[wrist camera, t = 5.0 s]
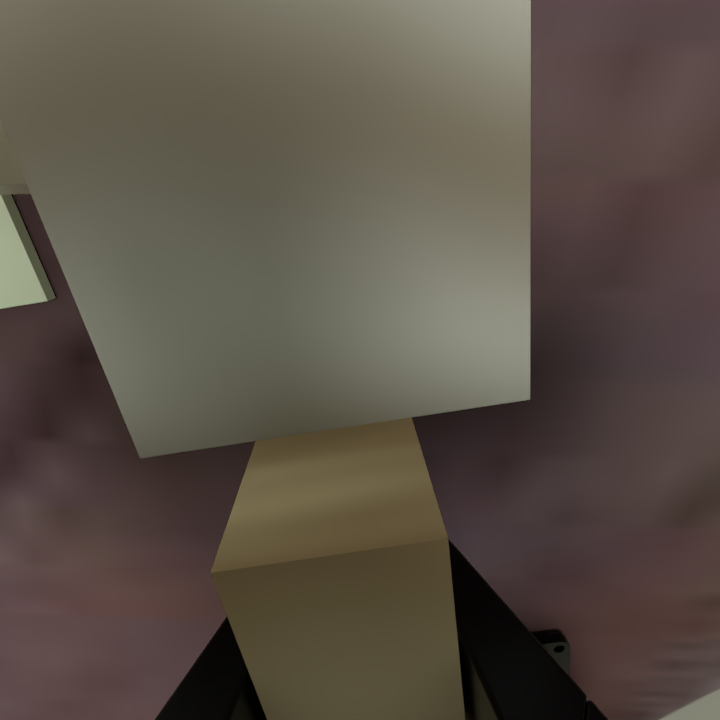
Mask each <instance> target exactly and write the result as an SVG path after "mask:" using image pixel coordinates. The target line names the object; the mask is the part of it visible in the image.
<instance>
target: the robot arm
mask: <svg viewBox="0 0 720 720" xmlns="http://www.w3.org/2000/svg"><path fill="white" fill-rule="evenodd" d="M448 542H449V553H450V563H451V574H452V585H453V595H454V606H455V616H456V627H457V638H458V648H459V659H460V669H461V680H462V691H463V701H464V712H465V720H608V719H607V718H606V717H605V716H604V714H603V713H602V712H601V711H600V710H599V709H598V708H597V706H596V705H595V704H594V703H593V702H592V701H587V696H586V694H585V693H584V692H583V691H582V690H581V689H580V688H579V686H578V685H577V684H576V683H575V682H574V681H573V680H572V678H571V677H570V676H569V657H570V646H569V643H568V641H567V639H566V637H565V636H564V635H563V634H560V633H555V634H548V635H541V636H534V635H533V634H532V633H531V632H530V631H529V630H528V629H527V627H526V626H525V625H524V624H523V623H522V622H521V621H520V619H519V618H518V617H517V616H516V615H515V614H514V613H513V612H512V610H511V609H510V608H509V607H508V606H507V605H506V604H505V602H504V601H503V600H502V599H501V598H500V597H499V596H498V595H497V593H496V592H495V591H494V590H493V589H492V588H491V587H490V585H489V584H488V583H487V582H486V581H485V580H484V579H483V578H482V576H481V575H480V574H479V573H478V572H477V571H476V570H475V568H474V567H473V566H472V565H471V564H470V563H469V562H468V561H467V559H466V558H465V557H464V556H463V555H462V554H461V553H460V551H459V550H458V549H457V548H456V547H455V546H454V545H453V544H452V542H451V541H449V540H448ZM155 720H267V718H266V716H265V713H264V710H263V708H262V705H261V703H260V700H259V698H258V695H257V692H256V690H255V687H254V685H253V682H252V679H251V677H250V674H249V672H248V669H247V666H246V664H245V661H244V659H243V656H242V653H241V651H240V648H239V646H238V643H237V641H236V638H235V635H234V633H233V630H232V628H231V625H230V622H229V620H228V617H226V619H225V620H224V622H223V623H222V624H221V626H220V627H219V629H218V630H217V632H216V633H215V634H214V636H213V637H212V639H211V640H210V642H209V643H208V644H207V646H206V647H205V649H204V650H203V652H202V653H201V654H200V656H199V657H198V659H197V660H196V662H195V663H194V665H193V666H192V667H191V669H190V670H189V672H188V673H187V675H186V676H185V677H184V679H183V680H182V682H181V683H180V685H179V686H178V687H177V689H176V690H175V692H174V693H173V695H172V696H171V697H170V699H169V700H168V702H167V703H166V705H165V706H164V707H163V709H162V710H161V712H160V713H159V715H158V716H157V717H156V719H155Z"/></svg>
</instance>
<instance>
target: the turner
mask: <svg viewBox="0 0 720 720" xmlns="http://www.w3.org/2000/svg"><path fill="white" fill-rule="evenodd" d="M0 121H1V123H2V126H3V128H4V130H5V133H6V135H7V138H8V140H9V143H10V145H11V147H12V150H13V152H14V155H15V157H16V159H17V162H18V164H19V167H20V169H21V172H22V174H23V176H24V179H25V181H26V184H27V186H28V188H29V191H30V193H31V196H32V198H33V201H34V203H35V205H36V208H37V210H38V213H39V215H40V217H41V220H42V222H43V225H44V227H45V230H46V232H47V234H48V237H49V239H50V242H51V244H52V246H53V249H54V251H55V254H56V256H57V259H58V261H59V263H60V266H61V268H62V271H63V273H64V275H65V278H66V280H67V283H68V285H69V288H70V290H71V292H72V295H73V297H74V300H75V302H76V304H77V307H78V309H79V312H80V314H81V317H82V319H83V321H84V324H85V326H86V329H87V331H88V333H89V336H90V338H91V341H92V343H93V346H94V348H95V350H96V353H97V355H98V358H99V360H100V362H101V365H102V367H103V370H104V372H105V375H106V377H107V379H108V382H109V384H110V387H111V389H112V391H113V394H114V396H115V399H116V401H117V404H118V406H119V408H120V411H121V413H122V416H123V418H124V420H125V423H126V425H127V428H128V430H129V433H130V435H131V437H132V440H133V442H134V445H135V447H136V449H137V452H138V454H139V457H140V458H146V457H153V456H160V455H166V454H173V453H179V452H186V451H193V450H199V449H206V448H213V447H219V446H226V445H232V444H239V443H246V442H252V441H255V444H254V447H253V450H252V453H251V456H250V459H249V462H248V465H247V468H246V470H245V473H244V476H243V479H242V482H241V485H240V488H239V491H238V494H237V497H236V500H235V502H234V505H233V508H232V511H231V514H230V517H229V520H228V523H227V526H226V529H225V532H224V534H223V537H222V540H221V543H220V546H219V549H218V552H217V555H216V558H215V561H214V564H213V566H212V569H211V572H210V573H211V576H212V578H213V581H214V584H215V586H216V589H217V591H218V594H219V597H220V599H221V602H222V604H223V607H224V609H225V612H226V615H227V617H228V620H229V622H230V625H231V628H232V630H233V633H234V635H235V638H236V641H237V643H238V646H239V648H240V651H241V653H242V656H243V659H244V661H245V664H246V666H247V669H248V672H249V674H250V677H251V679H252V682H253V685H254V687H255V690H256V692H257V695H258V698H259V700H260V703H261V705H262V708H263V710H264V713H265V716H266V718H267V720H465V712H464V701H463V691H462V680H461V669H460V659H459V648H458V638H457V627H456V616H455V606H454V595H453V585H452V574H451V563H450V553H449V542H448V536H447V533H446V530H445V526H444V523H443V520H442V516H441V513H440V510H439V506H438V503H437V500H436V496H435V493H434V490H433V487H432V483H431V480H430V477H429V473H428V470H427V467H426V463H425V460H424V457H423V453H422V450H421V447H420V443H419V440H418V437H417V434H416V430H415V427H414V424H413V420H412V417H418V416H424V415H431V414H438V413H444V412H451V411H457V410H464V409H471V408H477V407H484V406H491V405H497V404H504V403H510V402H517V401H524V400H530V167H531V0H0Z"/></svg>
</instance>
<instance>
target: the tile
mask: <svg viewBox="0 0 720 720" xmlns="http://www.w3.org/2000/svg"><path fill="white" fill-rule="evenodd" d="M6 194H31V193H30V191H29V188H28V186H27V184H26V181H25V179H24V176H23V174H22V172H21V169H20V167H19V164H18V162H17V159H16V157H15V155H14V152H13V150H12V147H11V145H10V143H9V140H8V138H7V135H6V133H5V130H4V128H3V126H2V123H1V121H0V195H6Z"/></svg>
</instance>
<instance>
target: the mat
mask: <svg viewBox="0 0 720 720" xmlns="http://www.w3.org/2000/svg"><path fill="white" fill-rule="evenodd" d="M55 298H56V297H55V294H54V292H53V290H52V288H51V285H50V283H49V281H48V278H47V276H46V274H45V271H44V269H43V267H42V264H41V262H40V260H39V258H38V255H37V253H36V251H35V248H34V246H33V244H32V241H31V239H30V237H29V234H28V232H27V230H26V228H25V225H24V223H23V221H22V218H21V216H20V214H19V211H18V209H17V207H16V204H15V202H14V200H13V198H12V195H11V194H6V195H0V309H2V308H8V307H14V306H21V305H27V304H33V303H39V302H45V301H49V300H52V299H55Z"/></svg>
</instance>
